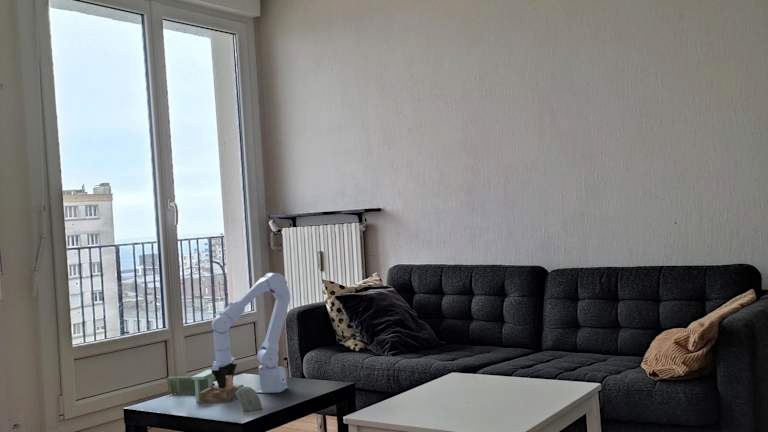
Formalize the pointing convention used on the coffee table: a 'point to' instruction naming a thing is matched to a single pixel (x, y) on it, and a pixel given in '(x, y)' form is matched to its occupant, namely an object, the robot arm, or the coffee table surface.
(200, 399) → the socket plate
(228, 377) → the tan peg
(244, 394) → the mineral specimen
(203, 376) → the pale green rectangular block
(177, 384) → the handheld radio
